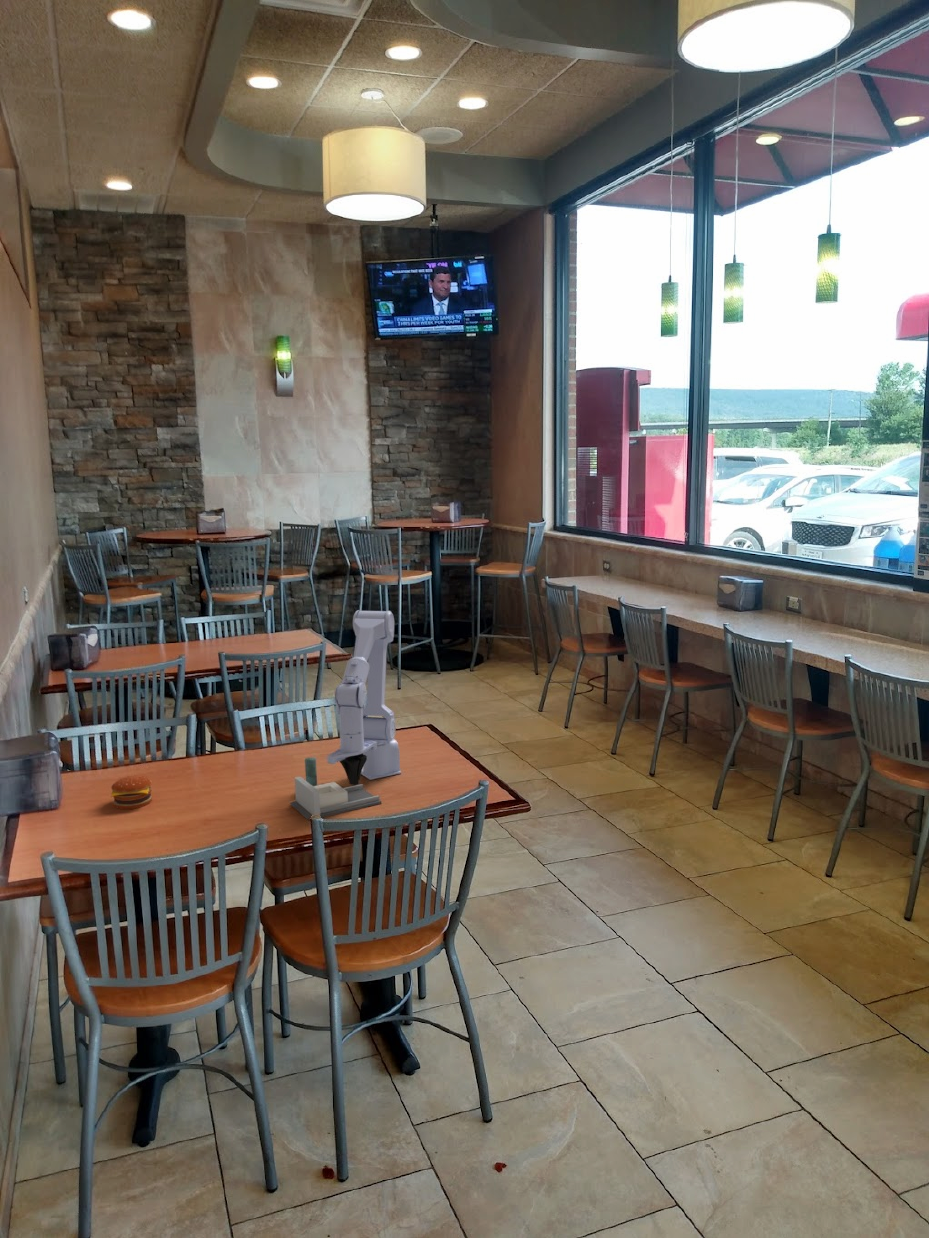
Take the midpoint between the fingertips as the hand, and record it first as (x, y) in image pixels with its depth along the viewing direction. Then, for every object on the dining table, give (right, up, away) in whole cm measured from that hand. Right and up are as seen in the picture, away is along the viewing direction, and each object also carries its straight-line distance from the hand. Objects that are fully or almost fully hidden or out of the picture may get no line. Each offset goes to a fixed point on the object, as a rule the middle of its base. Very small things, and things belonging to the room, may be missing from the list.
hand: (353, 783), depth 227 cm
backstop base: (-4, -5, -2) cm, 6 cm away
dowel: (-12, -3, +8) cm, 15 cm away
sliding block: (-6, -4, -3) cm, 8 cm away
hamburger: (-55, -5, +1) cm, 55 cm away
